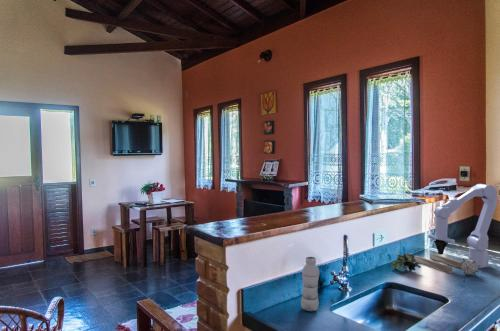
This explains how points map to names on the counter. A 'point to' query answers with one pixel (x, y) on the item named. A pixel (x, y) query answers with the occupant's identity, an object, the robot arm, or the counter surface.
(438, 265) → the chute
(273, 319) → the counter surface
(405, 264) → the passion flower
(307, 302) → the plastic bottle
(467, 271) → the beige textured ball
